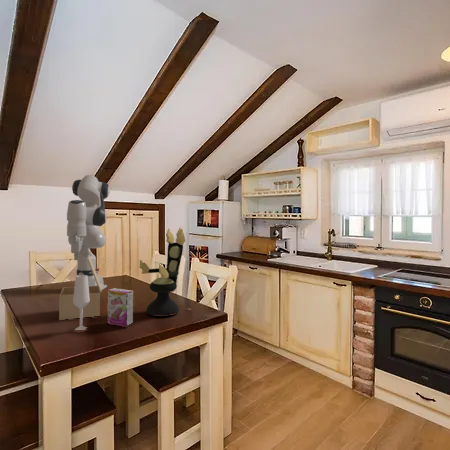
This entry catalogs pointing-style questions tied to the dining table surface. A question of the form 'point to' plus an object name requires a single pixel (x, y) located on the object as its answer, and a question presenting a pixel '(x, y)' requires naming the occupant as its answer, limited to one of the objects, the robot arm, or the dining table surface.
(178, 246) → the black and tan chair
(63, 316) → the carton
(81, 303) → the champagne flute
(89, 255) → the carton flap
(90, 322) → the dining table surface
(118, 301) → the candy bar box
